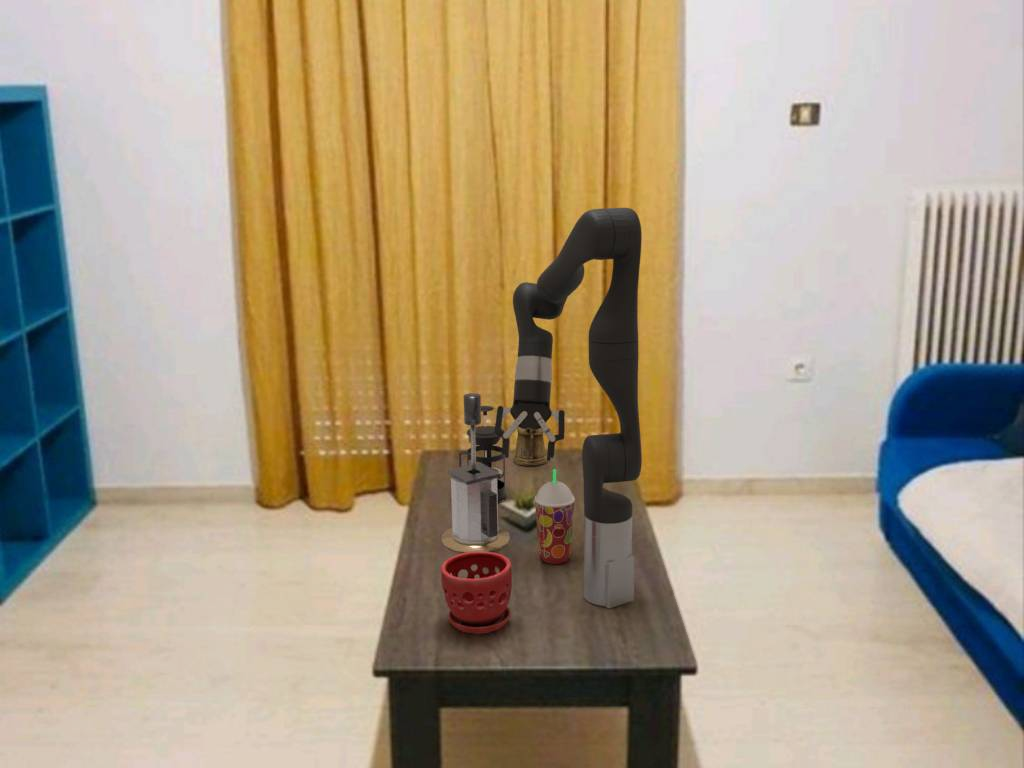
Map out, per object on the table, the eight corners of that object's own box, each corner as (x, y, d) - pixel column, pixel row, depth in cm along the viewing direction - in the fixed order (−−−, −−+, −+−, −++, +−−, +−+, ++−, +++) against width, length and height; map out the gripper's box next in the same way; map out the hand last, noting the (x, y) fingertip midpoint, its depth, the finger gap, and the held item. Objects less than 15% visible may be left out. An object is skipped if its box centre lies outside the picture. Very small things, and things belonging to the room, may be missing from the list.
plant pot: (507, 603, 214) (506, 546, 211) (517, 636, 201) (516, 576, 198) (440, 608, 212) (438, 551, 209) (445, 642, 200) (443, 582, 196)
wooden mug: (513, 473, 283) (512, 406, 278) (513, 455, 296) (512, 391, 291) (548, 472, 283) (547, 405, 278) (546, 455, 296) (546, 390, 291)
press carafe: (523, 543, 241) (522, 475, 236) (463, 559, 233) (461, 490, 229) (487, 520, 253) (486, 455, 249) (429, 535, 246) (427, 468, 242)
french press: (510, 490, 271) (508, 401, 265) (507, 505, 262) (506, 413, 256) (462, 490, 272) (460, 401, 265) (458, 504, 263) (455, 412, 256)
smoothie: (547, 547, 239) (546, 460, 233) (581, 555, 235) (581, 466, 229) (527, 561, 232) (526, 472, 226) (562, 570, 228) (562, 479, 222)
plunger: (498, 496, 239) (496, 397, 233) (467, 503, 236) (465, 403, 229) (480, 485, 246) (478, 388, 239) (450, 492, 242) (447, 394, 236)
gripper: (497, 375, 222) (491, 456, 221) (568, 380, 222) (563, 461, 220) (499, 380, 230) (493, 457, 228) (567, 384, 229) (562, 462, 228)
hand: (527, 459), depth 224 cm, fingers open, 8 cm apart
